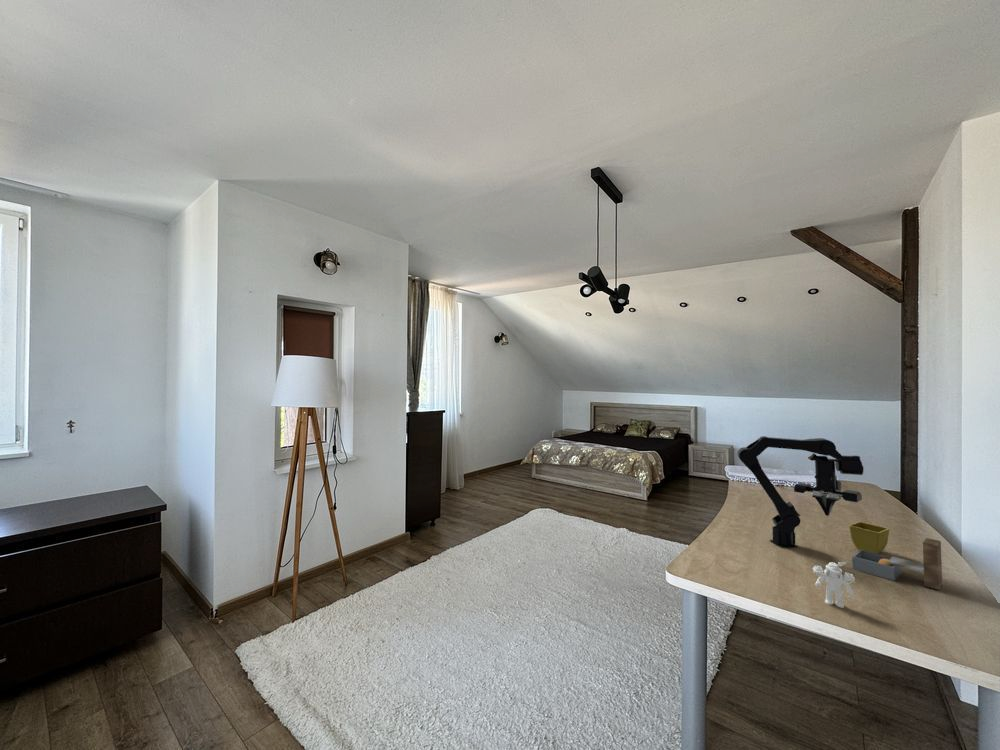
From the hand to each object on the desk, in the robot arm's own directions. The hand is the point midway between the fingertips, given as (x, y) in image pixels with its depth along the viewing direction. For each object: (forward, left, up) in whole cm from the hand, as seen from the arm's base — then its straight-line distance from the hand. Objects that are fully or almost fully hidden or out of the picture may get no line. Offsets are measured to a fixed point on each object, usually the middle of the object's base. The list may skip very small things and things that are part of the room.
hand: (827, 515), depth 145 cm
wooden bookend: (+7, -23, -13) cm, 27 cm away
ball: (+4, -17, -11) cm, 21 cm away
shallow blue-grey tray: (+3, -15, -13) cm, 20 cm away
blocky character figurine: (-29, -35, -13) cm, 47 cm away
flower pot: (+15, -1, -13) cm, 20 cm away
